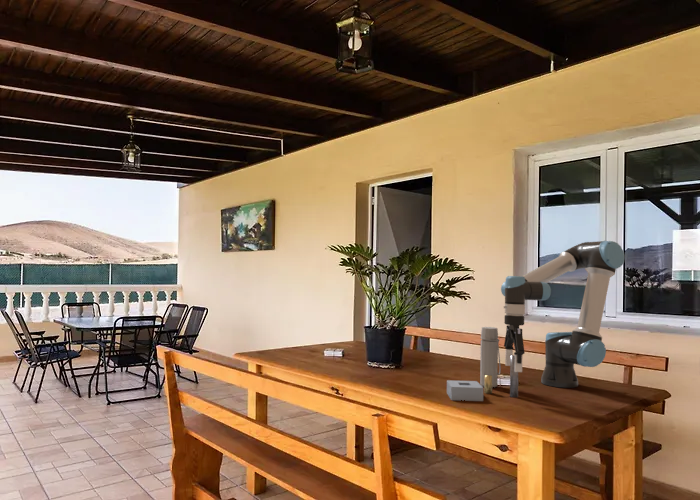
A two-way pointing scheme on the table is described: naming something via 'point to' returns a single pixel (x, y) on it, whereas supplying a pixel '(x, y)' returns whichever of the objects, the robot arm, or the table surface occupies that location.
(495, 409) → the table surface
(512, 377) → the long pin
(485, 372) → the water bottle
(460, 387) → the socket block
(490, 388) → the short pin
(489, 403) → the table surface
